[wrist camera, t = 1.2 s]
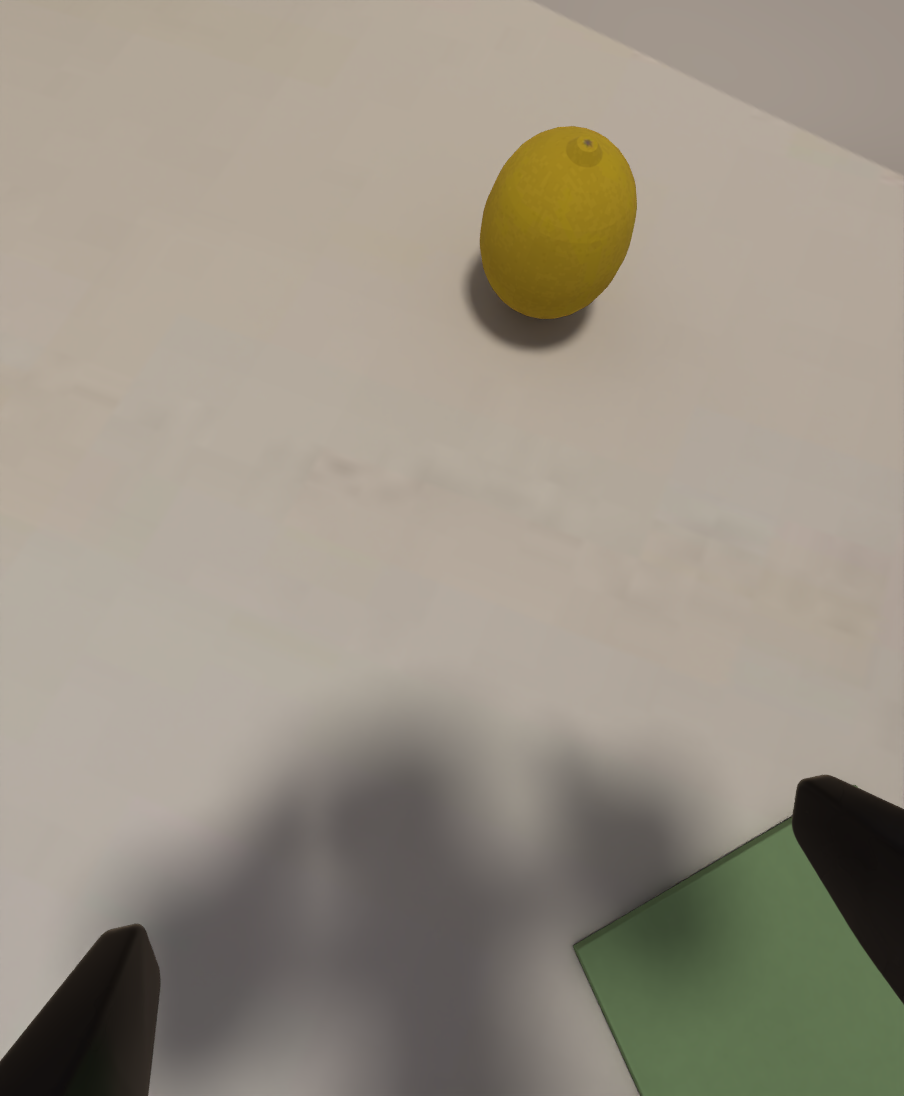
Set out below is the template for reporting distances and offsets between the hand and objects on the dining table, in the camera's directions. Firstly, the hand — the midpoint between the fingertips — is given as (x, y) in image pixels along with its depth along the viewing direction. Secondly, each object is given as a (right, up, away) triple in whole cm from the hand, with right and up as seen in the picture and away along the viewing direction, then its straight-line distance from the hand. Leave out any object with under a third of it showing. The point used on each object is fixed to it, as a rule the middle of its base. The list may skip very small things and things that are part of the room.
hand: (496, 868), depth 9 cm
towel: (+12, -13, +13) cm, 22 cm away
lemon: (+3, +15, +20) cm, 25 cm away
